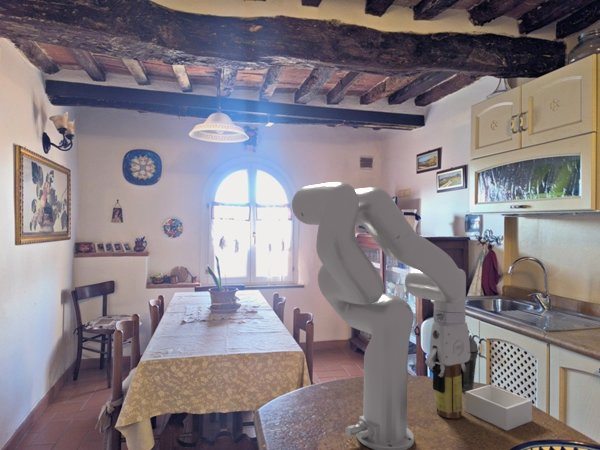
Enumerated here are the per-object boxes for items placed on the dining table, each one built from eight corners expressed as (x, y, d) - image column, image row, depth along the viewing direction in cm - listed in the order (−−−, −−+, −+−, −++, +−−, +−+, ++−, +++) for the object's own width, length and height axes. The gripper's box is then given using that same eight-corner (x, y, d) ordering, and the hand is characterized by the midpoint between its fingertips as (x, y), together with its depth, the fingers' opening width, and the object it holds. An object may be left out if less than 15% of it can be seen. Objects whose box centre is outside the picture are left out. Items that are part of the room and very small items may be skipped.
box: (506, 430, 92) (506, 409, 92) (465, 411, 102) (465, 391, 102) (531, 420, 97) (532, 400, 98) (490, 403, 107) (490, 384, 107)
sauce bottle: (457, 409, 103) (459, 332, 103) (465, 421, 97) (466, 339, 97) (431, 408, 104) (433, 331, 104) (437, 419, 97) (439, 337, 98)
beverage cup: (457, 393, 113) (458, 323, 113) (447, 383, 120) (448, 317, 121) (482, 393, 113) (483, 323, 114) (470, 383, 121) (471, 317, 121)
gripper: (437, 323, 93) (436, 401, 93) (484, 316, 102) (483, 387, 101) (413, 317, 99) (412, 389, 99) (459, 311, 108) (458, 377, 108)
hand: (448, 387), depth 100 cm, fingers closed on sauce bottle, 6 cm apart
